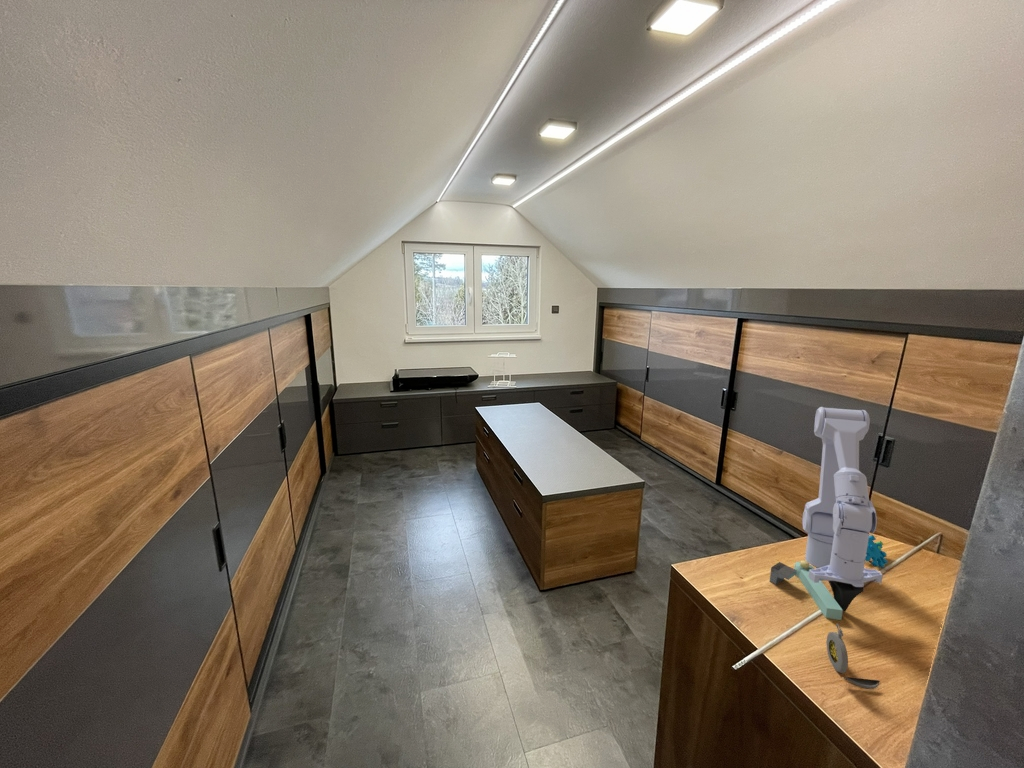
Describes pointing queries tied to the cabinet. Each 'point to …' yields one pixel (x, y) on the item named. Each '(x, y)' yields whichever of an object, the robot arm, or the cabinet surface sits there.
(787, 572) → the block
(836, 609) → the latch bar
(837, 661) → the pocket watch
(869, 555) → the gear
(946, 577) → the cabinet surface
